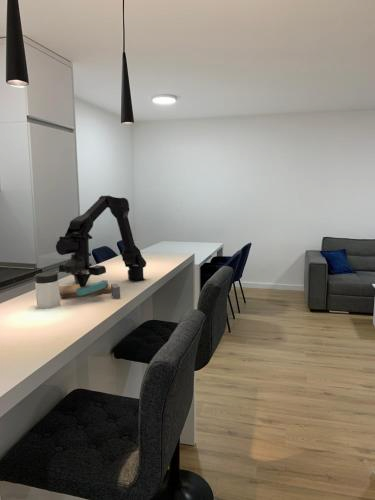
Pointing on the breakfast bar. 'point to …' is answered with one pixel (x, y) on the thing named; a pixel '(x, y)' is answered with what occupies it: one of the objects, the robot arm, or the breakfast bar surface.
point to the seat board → (72, 291)
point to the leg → (92, 287)
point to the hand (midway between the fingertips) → (82, 290)
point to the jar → (47, 290)
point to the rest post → (115, 291)
